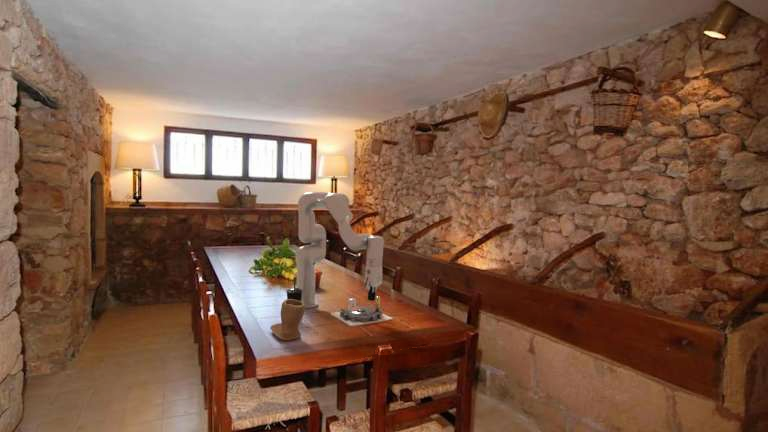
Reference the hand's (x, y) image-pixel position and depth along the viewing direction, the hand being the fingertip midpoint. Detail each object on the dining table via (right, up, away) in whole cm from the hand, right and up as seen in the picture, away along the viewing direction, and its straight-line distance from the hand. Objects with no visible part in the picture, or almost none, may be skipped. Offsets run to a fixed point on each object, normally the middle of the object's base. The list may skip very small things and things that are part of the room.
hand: (371, 300), depth 201 cm
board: (-5, -9, +4) cm, 11 cm away
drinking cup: (-36, -9, -3) cm, 37 cm away
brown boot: (-34, -10, -25) cm, 43 cm away
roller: (-11, -8, +18) cm, 23 cm away
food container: (-41, -5, +61) cm, 73 cm away
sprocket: (-5, -9, +4) cm, 11 cm away
